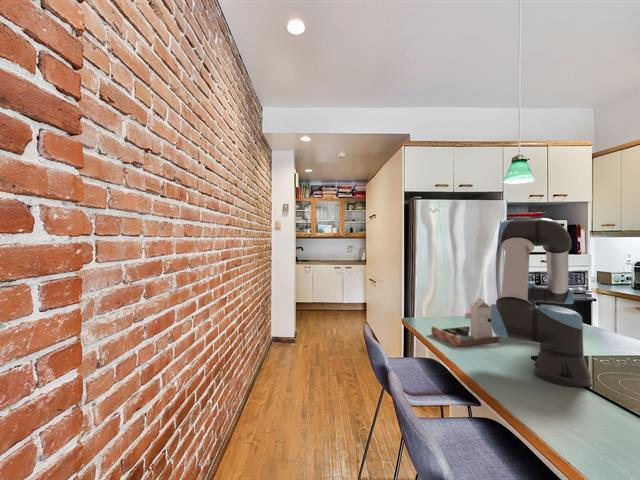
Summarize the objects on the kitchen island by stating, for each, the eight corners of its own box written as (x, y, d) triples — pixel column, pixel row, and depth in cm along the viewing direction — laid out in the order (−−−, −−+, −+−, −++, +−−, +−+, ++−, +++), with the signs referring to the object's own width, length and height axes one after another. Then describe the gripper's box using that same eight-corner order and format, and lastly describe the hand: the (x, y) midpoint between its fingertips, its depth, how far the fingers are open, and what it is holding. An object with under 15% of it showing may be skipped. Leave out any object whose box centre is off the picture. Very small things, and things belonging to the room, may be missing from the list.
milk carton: (486, 336, 148) (485, 297, 148) (492, 340, 141) (492, 299, 141) (470, 335, 148) (470, 297, 149) (476, 340, 141) (476, 299, 142)
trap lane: (498, 341, 139) (498, 333, 139) (458, 347, 133) (458, 337, 133) (468, 330, 158) (468, 322, 158) (431, 334, 152) (431, 326, 152)
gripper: (532, 327, 139) (492, 332, 133) (493, 316, 160) (457, 320, 154) (531, 311, 139) (491, 315, 133) (492, 302, 160) (456, 305, 154)
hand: (473, 318), depth 143 cm, fingers closed on milk carton, 9 cm apart
